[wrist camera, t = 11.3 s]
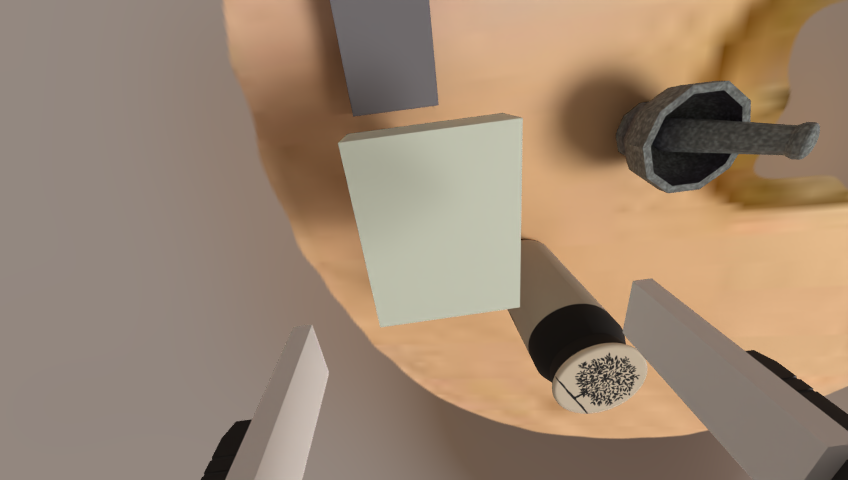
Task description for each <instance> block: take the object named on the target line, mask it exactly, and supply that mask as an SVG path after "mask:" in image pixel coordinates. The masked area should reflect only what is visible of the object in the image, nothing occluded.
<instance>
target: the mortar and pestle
mask: <svg viewBox="0 0 848 480" xmlns="http://www.w3.org/2000/svg"><path fill="white" fill-rule="evenodd" d="M750 111H751V100H750V99H748V98H747V97H746V96H745V95H744V94H743V93H742V92H741V91H740V90H739V89H737V88H736V87H735V86H734V85H733V84H732V83H731V82H730V81H712V82H704V83H696V84H688V85H680V86H676V87H671V88H667V89H666V90H664V91H663V92H662V93H660V94H659V95H657V96H656V97H655V98H654V99H653V100H651V101H650V102H643V103H639V104H638V105H637V106H636V107H634V108H633V109H632V110H631V111H629V112H628V113H627V114H626V115H625V116H624V117H623V119H622V121H621V123H620V126H619V128H618V130H617V133H616V141H617V147H618V152H620V153H621V154H623V155H624V156H625V157H626V160H627V164H628V167H629V170H631V171H632V172H634V173H635V174H637V175H638V176H640V177H641V178H642V179H644V180H645V181H647V182H648V183H650V184H651V185H653V186H654V187H656V188H657V189H659V190H661V191H664V192H666V193H674V192H682V191H689V190H697V189H700V188H702V187H703V186H705V185H706V184H707V183H709V182H710V181H712V180H713V179H714V178H716V177H717V176H719V175H720V174H721V173H723V172H724V171H726V170H727V169H729V168H730V167H731V165H732V163H733V162H734V160H735V158H736V157H737V155H738V154H764V155H766V154H767V155H785V156H786V157H788V158H790V159H803V158H804V157H806V156H807V155H808V154H809V153H810V152H811V151H812V149H813V148H814V146H815V144H816V142H817V140H818V137H819V133H820V126H819V124H818V123H815V122H806V123H803V124H800V125H783V124H769V123H754V122H750Z"/></svg>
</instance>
